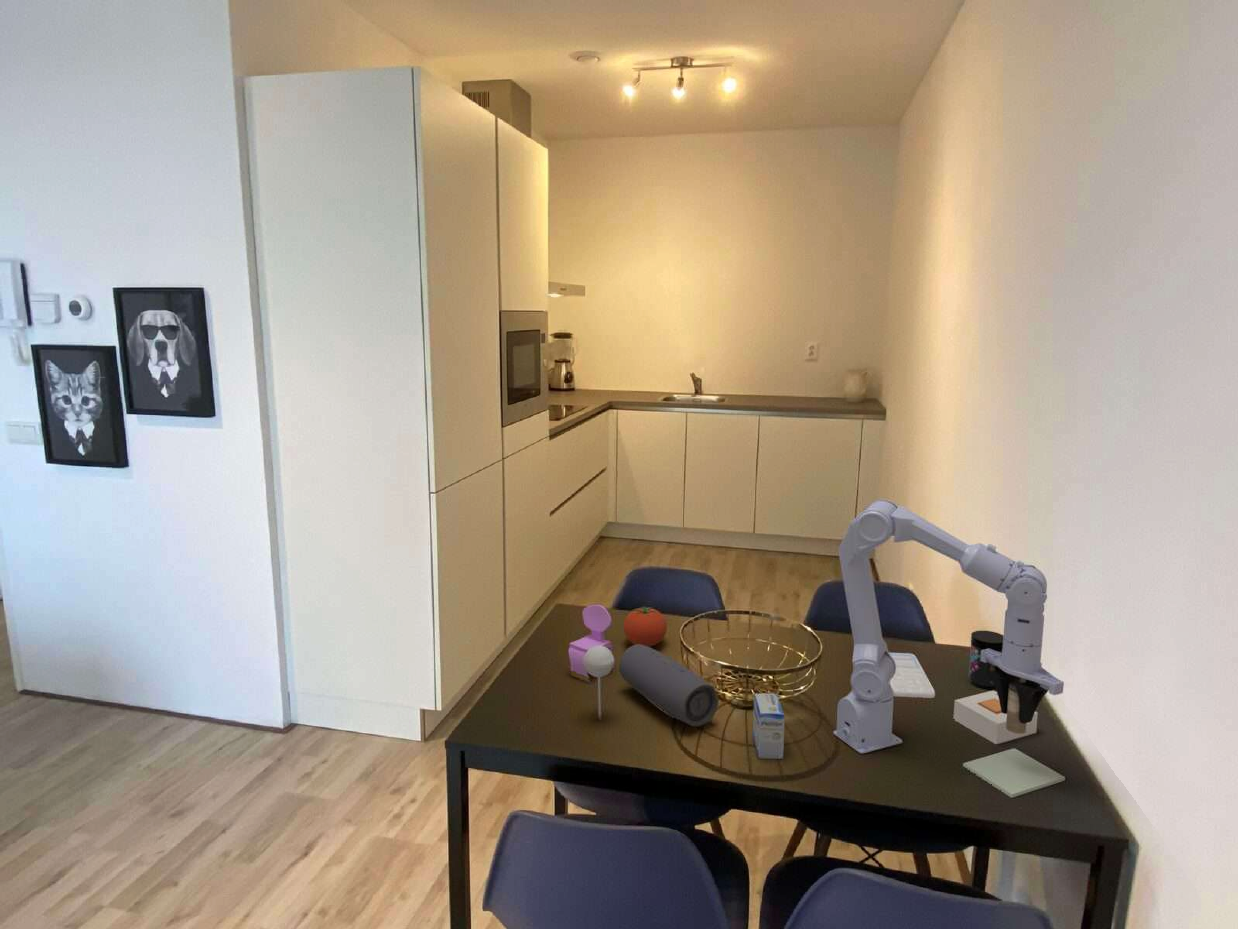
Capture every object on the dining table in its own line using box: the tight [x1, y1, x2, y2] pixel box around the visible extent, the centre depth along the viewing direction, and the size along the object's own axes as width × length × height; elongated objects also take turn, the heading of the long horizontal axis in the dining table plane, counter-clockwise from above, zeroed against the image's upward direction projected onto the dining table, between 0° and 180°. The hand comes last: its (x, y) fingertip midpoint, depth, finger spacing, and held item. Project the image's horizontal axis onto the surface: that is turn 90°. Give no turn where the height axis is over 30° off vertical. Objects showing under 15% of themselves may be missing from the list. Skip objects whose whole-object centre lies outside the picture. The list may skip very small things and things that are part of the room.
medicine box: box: [752, 693, 785, 760], centre depth 142 cm, size 8×4×9 cm, turn 178°
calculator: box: [889, 652, 936, 699], centre depth 171 cm, size 13×20×2 cm, turn 172°
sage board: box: [962, 748, 1066, 799], centre depth 134 cm, size 12×10×1 cm
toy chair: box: [568, 604, 615, 679], centre depth 173 cm, size 8×9×15 cm
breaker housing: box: [953, 689, 1039, 745], centre depth 149 cm, size 10×10×4 cm
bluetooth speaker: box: [618, 644, 719, 727], centre depth 157 cm, size 23×9×10 cm, turn 32°
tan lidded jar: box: [1006, 680, 1026, 734], centre depth 132 cm, size 3×3×8 cm
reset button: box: [979, 698, 1002, 714], centre depth 149 cm, size 4×4×3 cm
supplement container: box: [968, 630, 1004, 690], centre depth 166 cm, size 7×7×10 cm
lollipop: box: [583, 646, 615, 716], centre depth 153 cm, size 6×6×15 cm
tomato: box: [623, 605, 668, 648], centre depth 188 cm, size 10×10×10 cm
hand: (1016, 716), depth 133 cm, fingers closed on tan lidded jar, 3 cm apart
